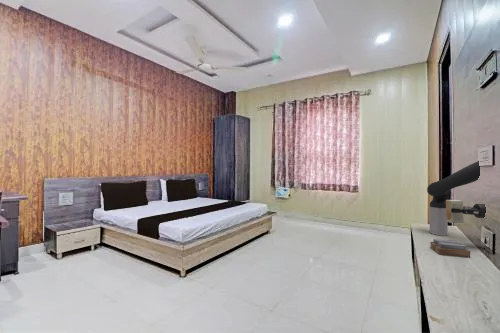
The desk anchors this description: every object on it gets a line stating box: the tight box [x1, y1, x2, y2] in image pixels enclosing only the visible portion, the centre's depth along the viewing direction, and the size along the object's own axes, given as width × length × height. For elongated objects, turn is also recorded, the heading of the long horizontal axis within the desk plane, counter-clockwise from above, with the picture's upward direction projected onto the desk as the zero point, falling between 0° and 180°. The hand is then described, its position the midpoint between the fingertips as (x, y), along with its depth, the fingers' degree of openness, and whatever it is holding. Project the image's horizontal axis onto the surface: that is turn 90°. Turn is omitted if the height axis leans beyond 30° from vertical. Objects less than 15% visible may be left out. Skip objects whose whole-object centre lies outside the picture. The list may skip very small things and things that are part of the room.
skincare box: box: [446, 199, 465, 224], centre depth 135 cm, size 6×4×12 cm
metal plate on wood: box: [429, 238, 471, 259], centre depth 124 cm, size 12×12×5 cm
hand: (449, 209), depth 136 cm, fingers closed on skincare box, 5 cm apart
